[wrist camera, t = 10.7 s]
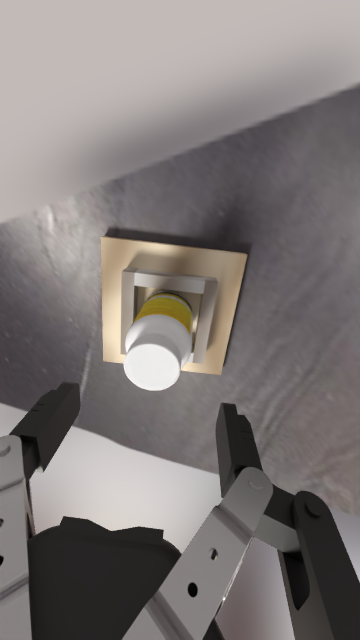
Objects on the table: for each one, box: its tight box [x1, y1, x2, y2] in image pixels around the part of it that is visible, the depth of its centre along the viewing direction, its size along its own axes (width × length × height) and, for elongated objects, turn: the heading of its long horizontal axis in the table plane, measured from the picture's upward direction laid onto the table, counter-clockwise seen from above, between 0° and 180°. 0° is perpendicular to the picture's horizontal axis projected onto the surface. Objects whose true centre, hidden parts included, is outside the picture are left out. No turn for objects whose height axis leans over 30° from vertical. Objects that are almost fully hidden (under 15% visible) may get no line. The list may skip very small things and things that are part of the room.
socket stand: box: [101, 236, 247, 375], centre depth 25 cm, size 14×14×3 cm
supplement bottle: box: [124, 291, 193, 390], centre depth 21 cm, size 5×5×10 cm
